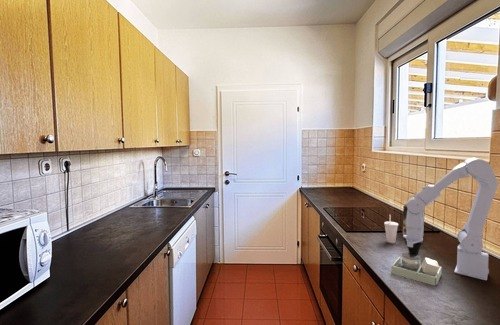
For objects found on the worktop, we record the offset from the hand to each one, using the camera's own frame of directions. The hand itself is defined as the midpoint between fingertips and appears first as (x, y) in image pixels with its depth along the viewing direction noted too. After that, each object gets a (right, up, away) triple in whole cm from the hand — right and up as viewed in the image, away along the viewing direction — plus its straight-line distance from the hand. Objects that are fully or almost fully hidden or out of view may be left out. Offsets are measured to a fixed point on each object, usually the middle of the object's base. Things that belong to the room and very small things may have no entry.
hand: (413, 258), depth 113 cm
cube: (-1, -1, -11) cm, 11 cm away
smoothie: (+3, 0, +25) cm, 25 cm away
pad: (-1, -3, -12) cm, 12 cm away
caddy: (-4, -3, -9) cm, 10 cm away
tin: (-3, -2, -3) cm, 5 cm away
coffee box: (+20, +1, +34) cm, 39 cm away
